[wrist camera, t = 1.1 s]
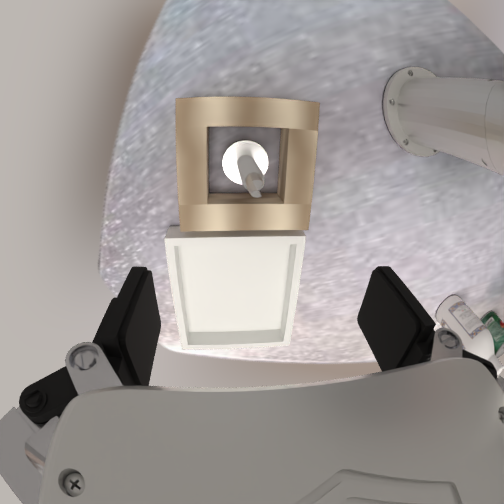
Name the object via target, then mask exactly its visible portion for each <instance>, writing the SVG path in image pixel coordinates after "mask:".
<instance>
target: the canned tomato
mask: <svg viewBox="0 0 504 504" xmlns="http://www.w3.org/2000/svg"><path fill="white" fill-rule="evenodd" d="M481 322H482V323H483V324H484V325H485V326H486V327H487V329H488V330H489V331H490V333H491V335H492V338H493V342H494V354H495V356H496V357H497V358H498V357H500V356H501V355H502V354H503V353H504V323H503V322H502V320H501V319H500V318H499V317H498V316H497V315H496V314H495V313H494V312H493V311H489V312H487V313H486V314H485V315H484V316H483V317H482V318H481Z"/></svg>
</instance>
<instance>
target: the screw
mask: <svg viewBox="0 0 504 504" xmlns="http://www.w3.org/2000/svg"><path fill="white" fill-rule="evenodd" d="M267 168H268V157H267V154H266V152H265V150H264V149H263V148H262V147H261V146H260V145H259V144H257V143H255V142H253V141H249V140H243V141H238V142H236V143H234V144H232V145H231V146H230V147H229V148H228V149H227V150H226V152H225V154H224V156H223V169H224V172H225V174H226V175H227V177H228V178H229V179H231V180H232V181H234V182H235V183H238V184H242V185H243V186H244V187H245V188H246V189H247V190H248V191H249V193H250V194H251V196H252V197H256V198H258V197H261V196H262V195H261V193H260V191H259V190H261V189H262V188H263V186H264V184H265V178H264V174H265V173H266V171H267Z"/></svg>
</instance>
